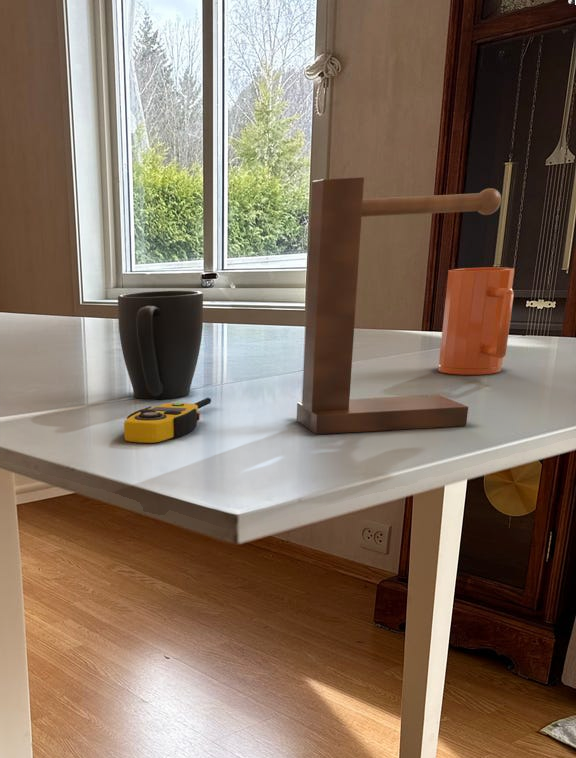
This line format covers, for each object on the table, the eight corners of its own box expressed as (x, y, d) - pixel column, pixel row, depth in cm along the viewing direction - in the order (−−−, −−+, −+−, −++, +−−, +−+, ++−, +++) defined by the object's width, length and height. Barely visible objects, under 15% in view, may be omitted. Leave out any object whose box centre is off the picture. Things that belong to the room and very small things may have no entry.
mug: (100, 408, 86) (96, 301, 82) (132, 387, 97) (129, 291, 93) (186, 409, 84) (185, 299, 80) (209, 387, 95) (209, 289, 91)
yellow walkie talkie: (110, 417, 72) (184, 386, 84) (111, 441, 73) (185, 407, 85) (166, 420, 70) (234, 388, 82) (167, 445, 71) (234, 409, 83)
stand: (458, 410, 78) (485, 173, 70) (490, 424, 72) (523, 168, 65) (296, 420, 77) (306, 182, 70) (315, 434, 72) (329, 177, 64)
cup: (429, 368, 100) (438, 269, 96) (484, 365, 100) (497, 266, 96) (468, 381, 90) (481, 273, 86) (530, 378, 91) (545, 270, 87)
